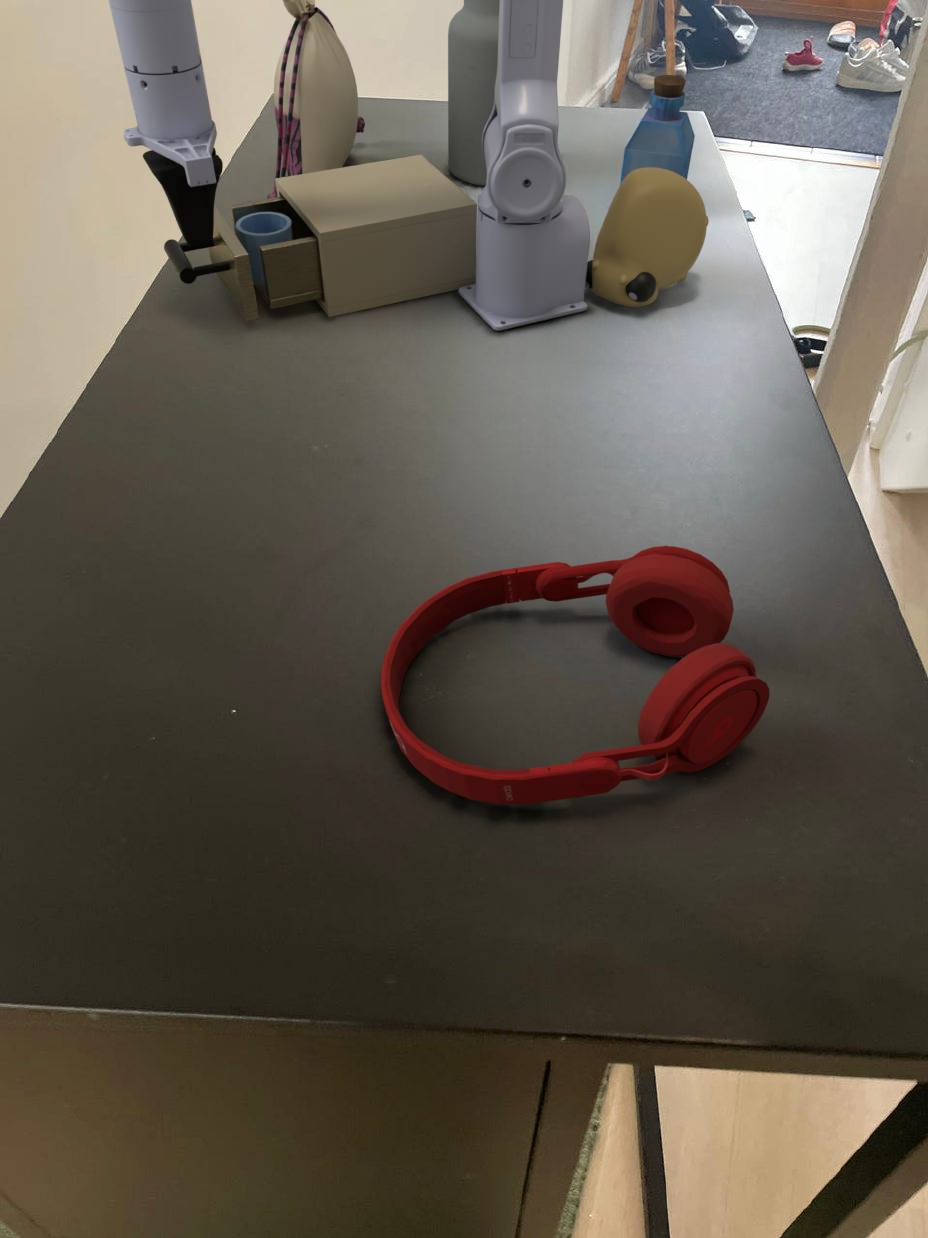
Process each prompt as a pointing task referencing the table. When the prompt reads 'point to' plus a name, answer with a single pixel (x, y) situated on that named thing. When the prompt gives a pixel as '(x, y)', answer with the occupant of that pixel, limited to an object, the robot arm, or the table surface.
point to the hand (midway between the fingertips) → (199, 241)
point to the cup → (262, 237)
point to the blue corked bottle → (662, 131)
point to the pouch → (314, 96)
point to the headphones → (647, 616)
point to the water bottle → (471, 86)
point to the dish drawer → (284, 264)
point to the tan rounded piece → (647, 237)
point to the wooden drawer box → (386, 231)
